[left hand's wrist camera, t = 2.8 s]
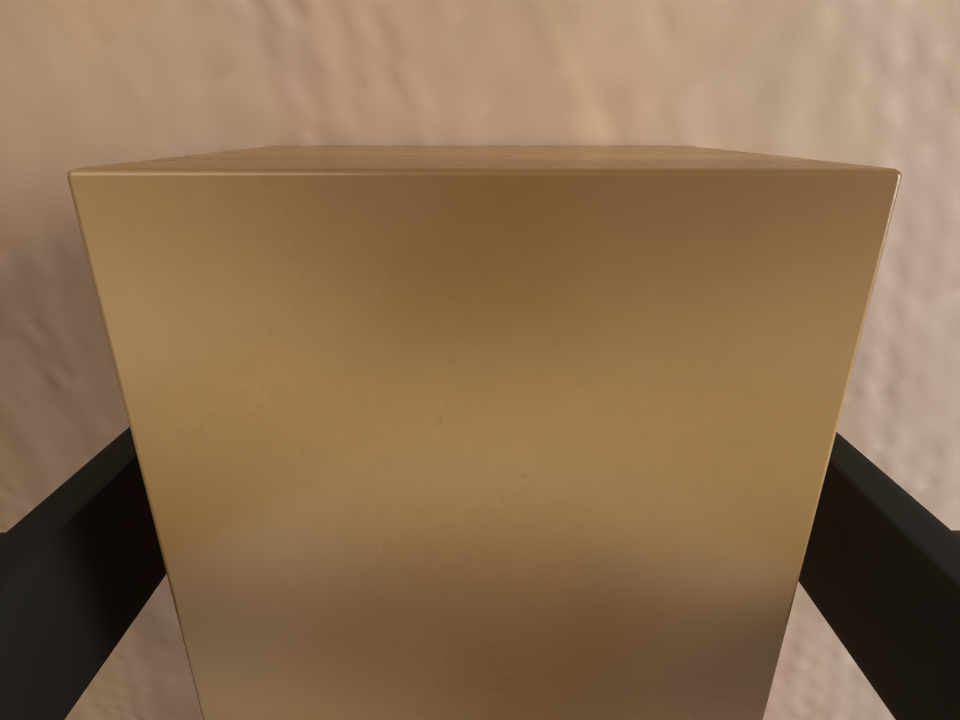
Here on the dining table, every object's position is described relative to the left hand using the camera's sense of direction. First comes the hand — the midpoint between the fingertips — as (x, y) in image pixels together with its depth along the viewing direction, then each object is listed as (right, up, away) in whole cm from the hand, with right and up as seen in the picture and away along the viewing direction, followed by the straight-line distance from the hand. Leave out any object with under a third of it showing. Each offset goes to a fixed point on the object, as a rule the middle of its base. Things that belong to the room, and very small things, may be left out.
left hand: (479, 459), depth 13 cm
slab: (0, -22, +11) cm, 25 cm away
